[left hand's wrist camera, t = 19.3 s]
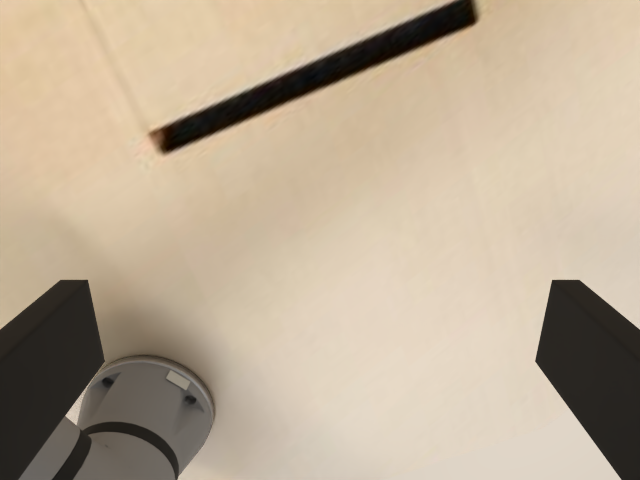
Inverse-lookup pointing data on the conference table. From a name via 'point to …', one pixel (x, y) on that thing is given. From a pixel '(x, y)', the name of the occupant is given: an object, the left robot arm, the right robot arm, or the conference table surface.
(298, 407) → the conference table surface
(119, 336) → the conference table surface
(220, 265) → the conference table surface
